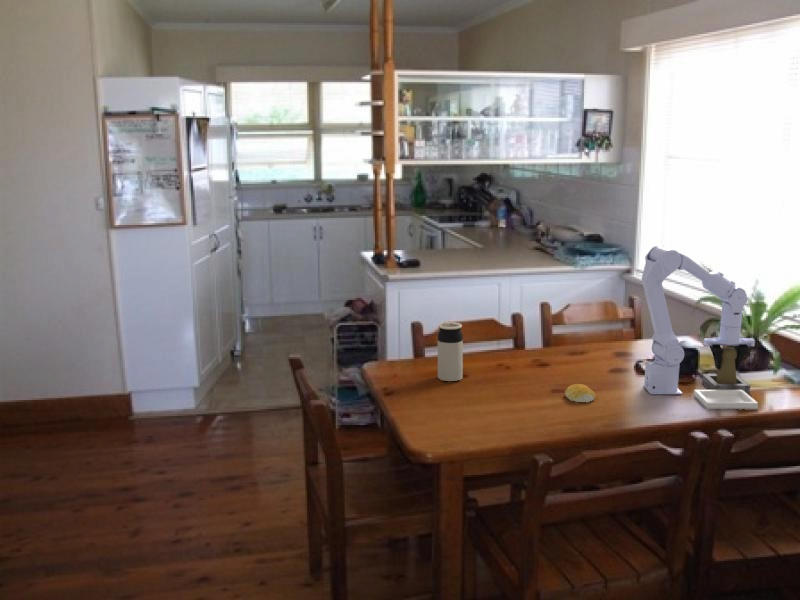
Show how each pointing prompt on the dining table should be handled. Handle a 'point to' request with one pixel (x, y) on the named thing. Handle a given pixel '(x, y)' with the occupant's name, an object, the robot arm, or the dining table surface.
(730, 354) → the cork
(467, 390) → the dining table surface
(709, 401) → the tray
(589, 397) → the bread roll
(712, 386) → the holder
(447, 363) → the travel mug
